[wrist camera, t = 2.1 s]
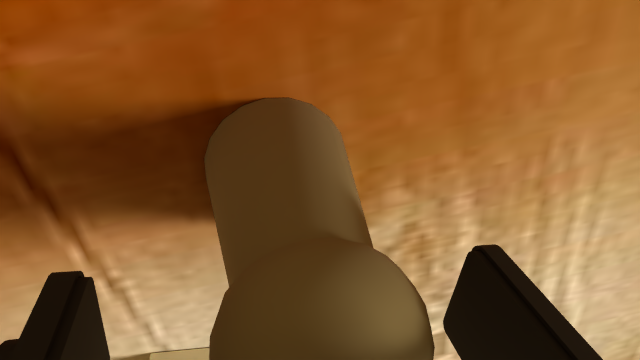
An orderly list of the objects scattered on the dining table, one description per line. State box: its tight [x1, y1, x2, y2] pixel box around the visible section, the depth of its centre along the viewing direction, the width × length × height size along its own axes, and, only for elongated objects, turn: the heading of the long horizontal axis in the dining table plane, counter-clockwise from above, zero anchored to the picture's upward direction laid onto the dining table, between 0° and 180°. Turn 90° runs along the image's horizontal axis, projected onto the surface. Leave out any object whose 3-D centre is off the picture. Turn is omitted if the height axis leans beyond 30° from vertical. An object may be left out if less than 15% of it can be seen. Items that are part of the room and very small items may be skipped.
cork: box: [204, 98, 435, 360], centre depth 13 cm, size 6×6×11 cm
